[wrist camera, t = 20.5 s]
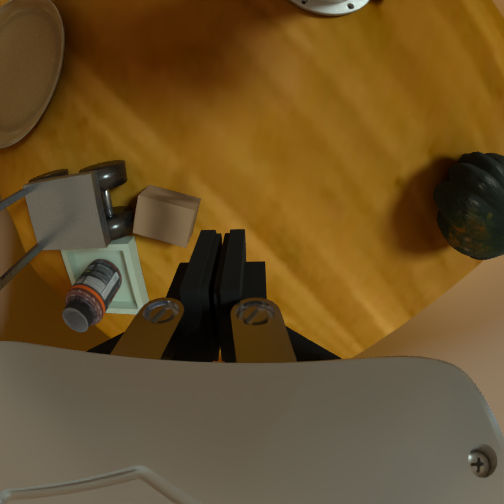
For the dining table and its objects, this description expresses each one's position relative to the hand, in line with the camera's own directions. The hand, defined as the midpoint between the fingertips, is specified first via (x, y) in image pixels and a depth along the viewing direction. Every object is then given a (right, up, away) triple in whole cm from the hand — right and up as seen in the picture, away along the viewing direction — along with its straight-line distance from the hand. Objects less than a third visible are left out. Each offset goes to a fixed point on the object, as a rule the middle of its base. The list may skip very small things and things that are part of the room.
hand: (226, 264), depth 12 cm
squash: (+32, +10, +25) cm, 42 cm away
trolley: (-22, +8, +26) cm, 35 cm away
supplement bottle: (-21, -3, +31) cm, 38 cm away
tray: (-21, -3, +32) cm, 38 cm away
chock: (-10, +6, +27) cm, 29 cm away
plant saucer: (-34, +28, +16) cm, 47 cm away
